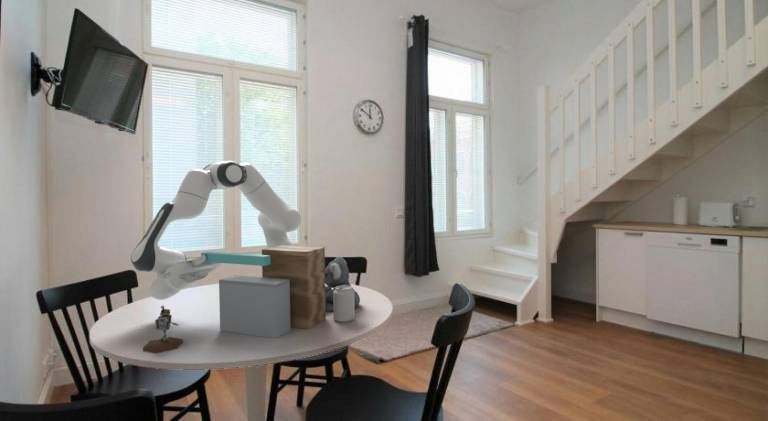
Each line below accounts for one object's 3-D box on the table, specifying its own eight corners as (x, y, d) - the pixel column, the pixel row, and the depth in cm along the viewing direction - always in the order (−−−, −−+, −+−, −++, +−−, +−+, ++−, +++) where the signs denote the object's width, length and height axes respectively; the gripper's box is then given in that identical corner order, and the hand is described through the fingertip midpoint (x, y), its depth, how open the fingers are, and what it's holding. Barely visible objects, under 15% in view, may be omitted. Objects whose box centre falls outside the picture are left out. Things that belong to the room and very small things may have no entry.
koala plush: (321, 300, 175) (320, 254, 175) (363, 301, 174) (363, 255, 173) (310, 312, 158) (309, 261, 157) (356, 313, 156) (356, 262, 155)
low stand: (236, 323, 145) (235, 275, 144) (290, 330, 138) (289, 279, 137) (220, 330, 138) (218, 279, 137) (276, 338, 130) (275, 284, 129)
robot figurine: (173, 352, 119) (172, 311, 119) (138, 354, 118) (137, 312, 117) (185, 339, 130) (184, 301, 129) (153, 340, 129) (152, 302, 128)
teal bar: (207, 260, 145) (207, 251, 145) (270, 264, 136) (270, 255, 136) (201, 261, 142) (201, 252, 142) (264, 265, 133) (264, 256, 133)
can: (345, 315, 154) (345, 283, 153) (358, 319, 148) (358, 286, 148) (329, 320, 148) (328, 286, 148) (342, 324, 143) (342, 290, 143)
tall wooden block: (283, 314, 156) (281, 245, 155) (325, 318, 150) (324, 247, 149) (263, 323, 145) (261, 249, 144) (308, 329, 139) (307, 251, 137)
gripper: (155, 270, 138) (183, 251, 133) (202, 261, 157) (227, 244, 153) (163, 287, 137) (190, 268, 132) (209, 276, 156) (234, 259, 152)
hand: (210, 255), depth 143 cm, fingers closed on teal bar, 3 cm apart
